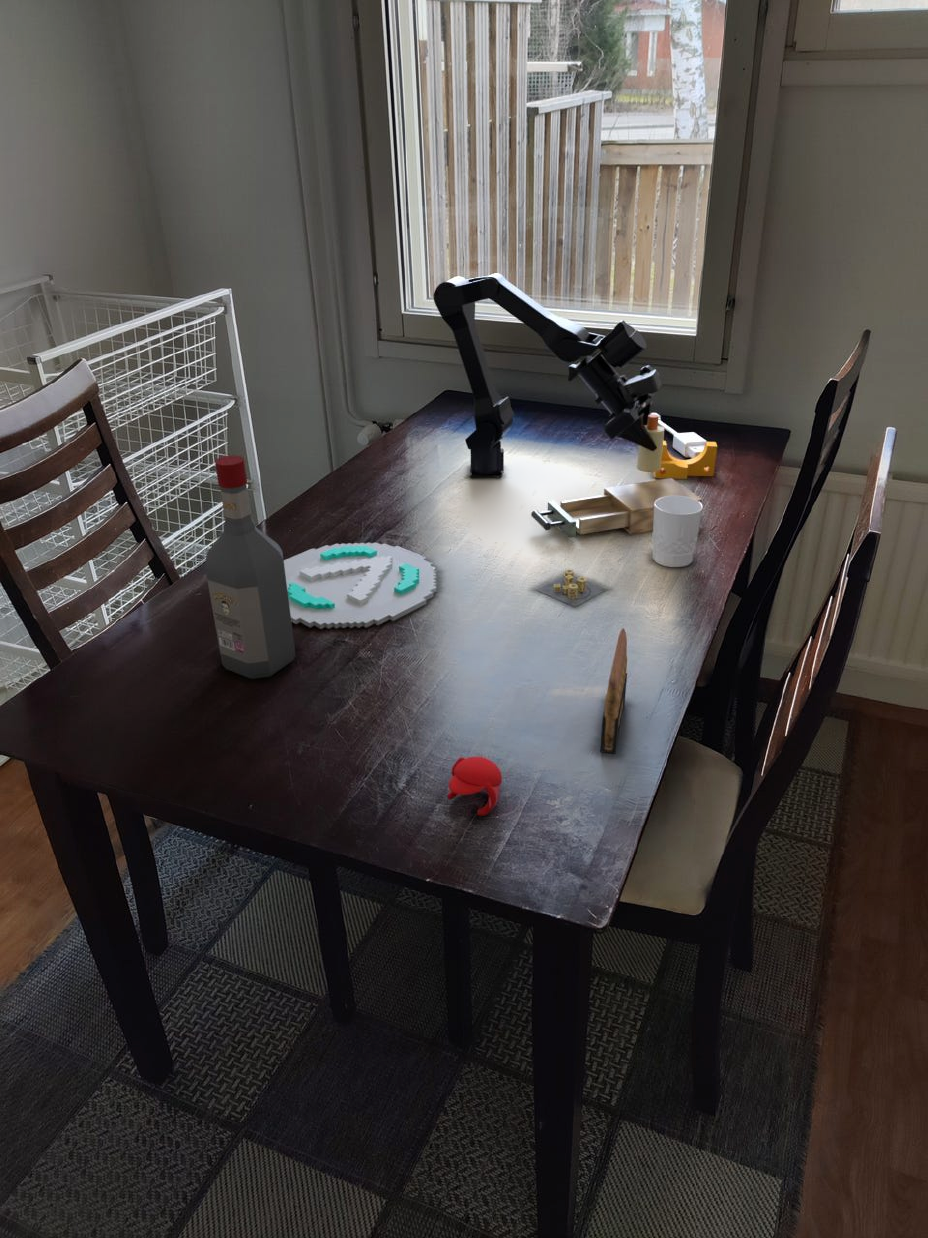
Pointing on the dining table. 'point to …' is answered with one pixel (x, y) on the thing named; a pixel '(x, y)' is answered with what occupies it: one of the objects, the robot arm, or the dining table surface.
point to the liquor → (247, 585)
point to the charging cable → (685, 441)
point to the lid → (357, 584)
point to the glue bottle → (646, 457)
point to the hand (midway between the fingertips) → (657, 445)
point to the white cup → (675, 530)
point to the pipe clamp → (688, 464)
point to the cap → (476, 780)
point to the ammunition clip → (615, 697)
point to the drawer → (584, 515)
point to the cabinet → (645, 500)
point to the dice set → (571, 589)
